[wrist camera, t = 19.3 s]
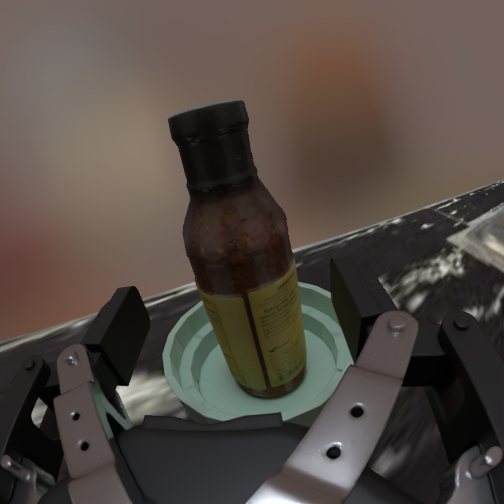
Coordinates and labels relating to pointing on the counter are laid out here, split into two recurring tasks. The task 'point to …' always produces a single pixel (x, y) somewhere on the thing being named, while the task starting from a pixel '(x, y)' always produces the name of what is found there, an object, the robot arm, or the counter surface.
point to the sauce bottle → (240, 251)
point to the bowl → (226, 386)
